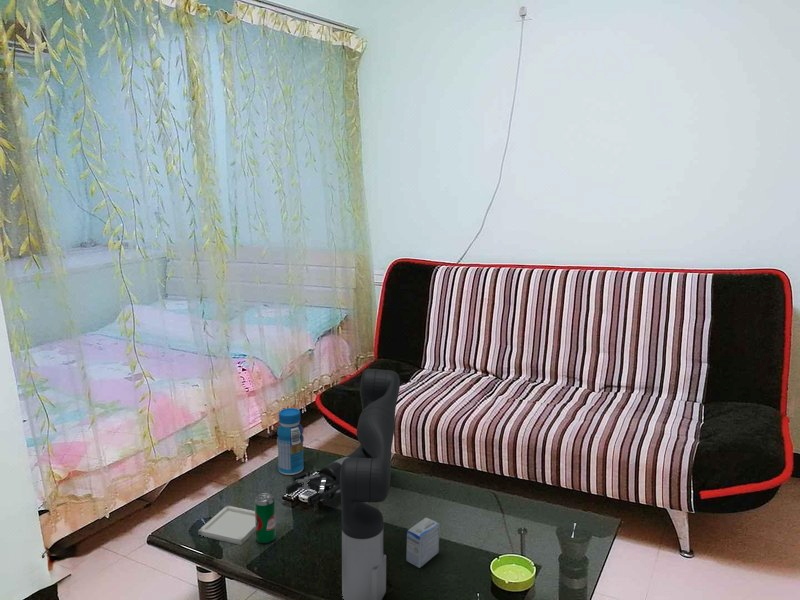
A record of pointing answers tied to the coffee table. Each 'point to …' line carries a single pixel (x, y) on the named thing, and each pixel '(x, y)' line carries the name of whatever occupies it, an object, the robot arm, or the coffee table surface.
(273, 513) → the soda can
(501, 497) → the coffee table surface
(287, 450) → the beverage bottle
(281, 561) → the coffee table surface
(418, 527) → the medicine box
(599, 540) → the coffee table surface
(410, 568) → the coffee table surface
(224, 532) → the tray
